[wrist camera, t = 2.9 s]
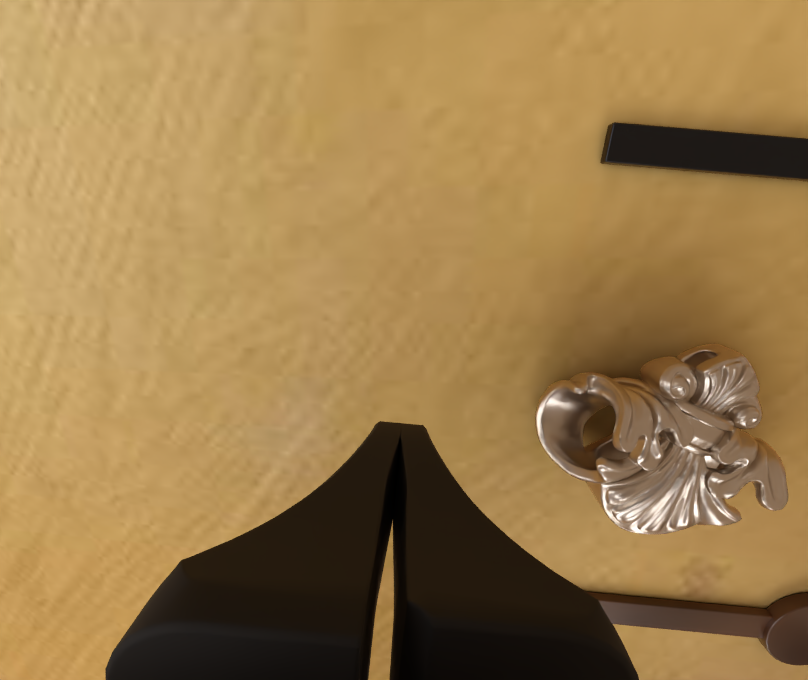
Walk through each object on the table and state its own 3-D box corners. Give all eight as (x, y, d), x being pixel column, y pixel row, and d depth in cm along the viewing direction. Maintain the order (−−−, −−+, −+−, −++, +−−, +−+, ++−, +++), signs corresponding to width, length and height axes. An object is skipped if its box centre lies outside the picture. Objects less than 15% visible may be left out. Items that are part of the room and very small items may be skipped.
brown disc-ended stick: (501, 624, 19) (504, 637, 18) (514, 563, 17) (517, 575, 17) (822, 655, 18) (835, 669, 18) (855, 596, 17) (870, 609, 17)
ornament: (790, 374, 14) (908, 425, 11) (680, 517, 16) (750, 598, 13) (593, 289, 14) (652, 315, 10) (504, 449, 16) (528, 515, 12)
